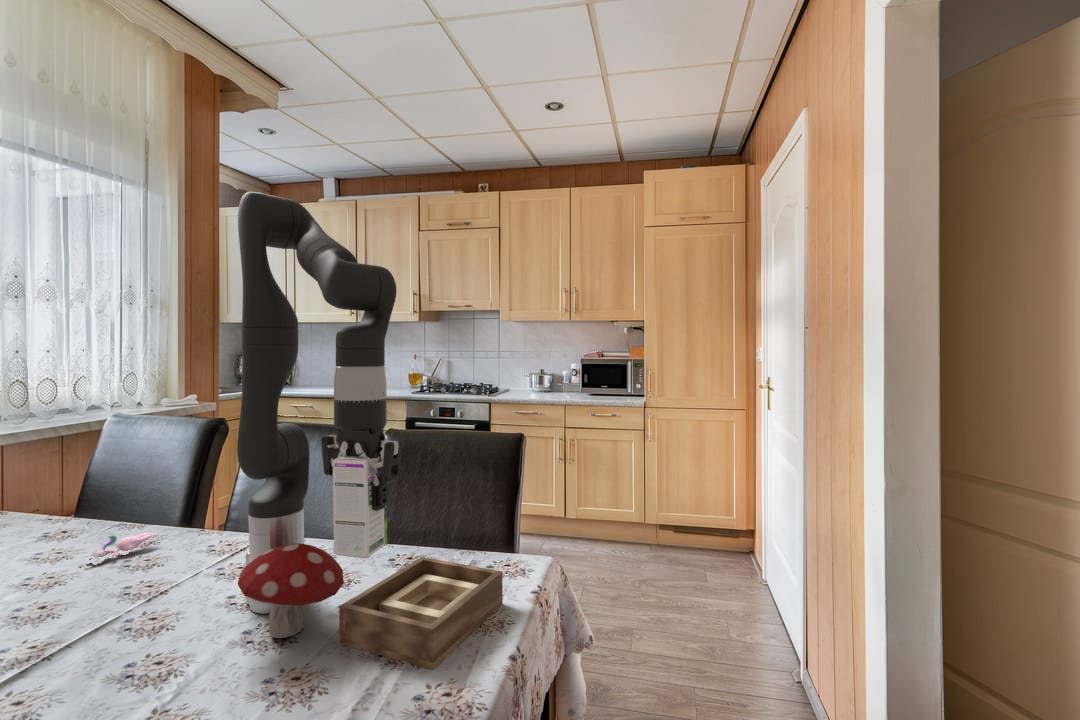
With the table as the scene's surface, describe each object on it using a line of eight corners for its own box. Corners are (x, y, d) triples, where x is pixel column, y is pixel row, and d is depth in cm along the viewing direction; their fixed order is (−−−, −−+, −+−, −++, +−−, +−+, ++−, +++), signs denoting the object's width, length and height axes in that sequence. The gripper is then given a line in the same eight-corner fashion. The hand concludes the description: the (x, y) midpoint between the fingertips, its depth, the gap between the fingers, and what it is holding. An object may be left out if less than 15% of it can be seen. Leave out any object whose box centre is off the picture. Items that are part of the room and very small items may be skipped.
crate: (339, 643, 84) (339, 606, 84) (422, 586, 104) (422, 556, 104) (433, 669, 77) (432, 629, 77) (502, 603, 97) (502, 571, 97)
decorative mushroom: (333, 602, 98) (332, 522, 98) (355, 641, 85) (354, 549, 84) (234, 627, 89) (233, 540, 89) (242, 675, 76) (241, 572, 76)
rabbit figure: (91, 576, 113) (165, 542, 126) (85, 551, 112) (160, 519, 125) (77, 571, 116) (151, 538, 129) (71, 546, 115) (146, 516, 128)
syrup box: (367, 559, 76) (368, 459, 76) (331, 555, 77) (331, 457, 77) (387, 545, 82) (388, 452, 81) (353, 541, 83) (353, 450, 83)
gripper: (414, 396, 79) (415, 505, 80) (343, 392, 85) (343, 494, 86) (380, 400, 73) (380, 520, 73) (305, 396, 79) (306, 507, 79)
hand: (360, 506), depth 79 cm, fingers closed on syrup box, 6 cm apart
